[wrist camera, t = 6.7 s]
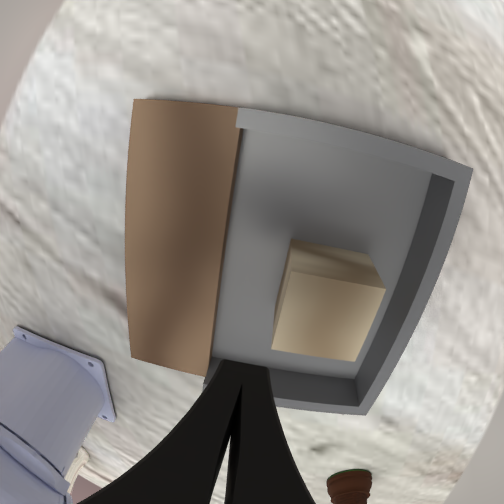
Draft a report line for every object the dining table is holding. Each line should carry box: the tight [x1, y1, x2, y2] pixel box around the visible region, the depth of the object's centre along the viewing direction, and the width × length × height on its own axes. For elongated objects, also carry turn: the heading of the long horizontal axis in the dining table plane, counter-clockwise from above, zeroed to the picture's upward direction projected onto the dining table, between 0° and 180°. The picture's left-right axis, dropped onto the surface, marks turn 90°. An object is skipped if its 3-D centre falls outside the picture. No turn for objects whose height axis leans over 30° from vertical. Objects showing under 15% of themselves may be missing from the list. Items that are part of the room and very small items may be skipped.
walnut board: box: [125, 99, 243, 377], centre depth 16 cm, size 5×15×1 cm, turn 171°
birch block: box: [271, 239, 386, 362], centre depth 15 cm, size 4×4×4 cm
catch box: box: [203, 107, 473, 415], centre depth 15 cm, size 10×15×3 cm, turn 171°
